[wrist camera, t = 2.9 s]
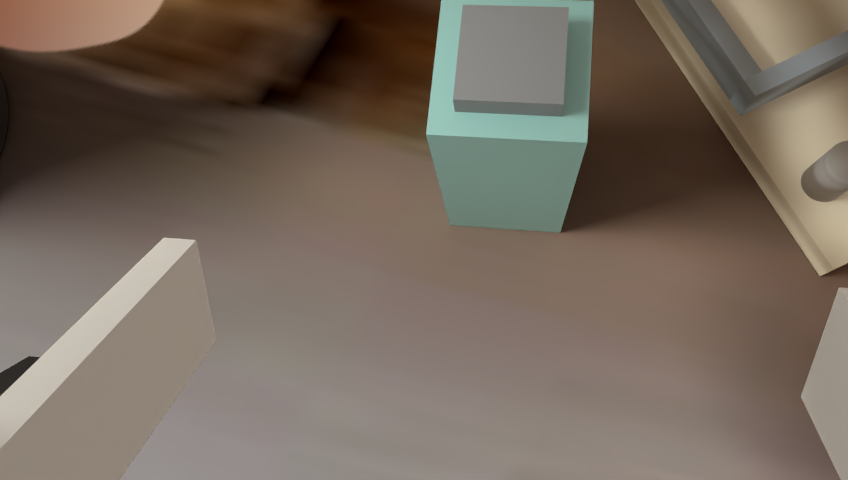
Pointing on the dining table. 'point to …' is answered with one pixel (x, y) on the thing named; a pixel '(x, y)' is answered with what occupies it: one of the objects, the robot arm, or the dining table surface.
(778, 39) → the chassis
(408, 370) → the dining table surface
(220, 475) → the dining table surface
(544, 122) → the pale green upright block
